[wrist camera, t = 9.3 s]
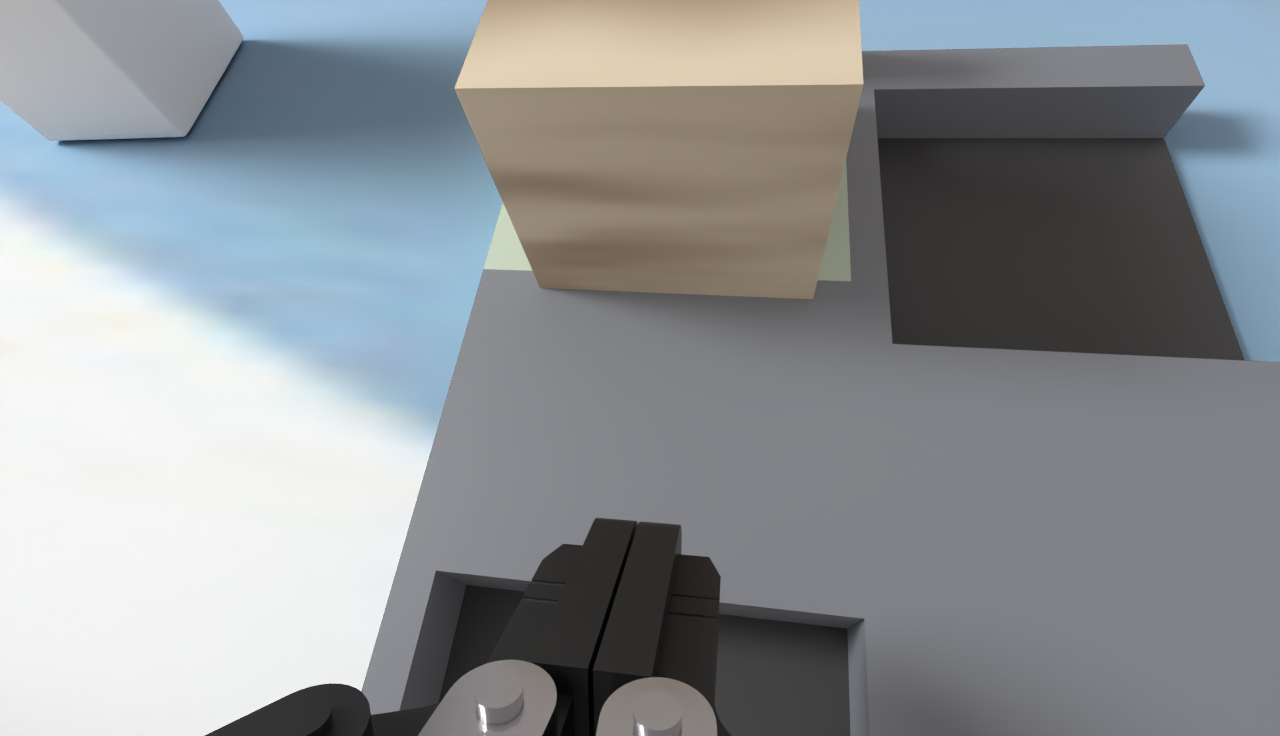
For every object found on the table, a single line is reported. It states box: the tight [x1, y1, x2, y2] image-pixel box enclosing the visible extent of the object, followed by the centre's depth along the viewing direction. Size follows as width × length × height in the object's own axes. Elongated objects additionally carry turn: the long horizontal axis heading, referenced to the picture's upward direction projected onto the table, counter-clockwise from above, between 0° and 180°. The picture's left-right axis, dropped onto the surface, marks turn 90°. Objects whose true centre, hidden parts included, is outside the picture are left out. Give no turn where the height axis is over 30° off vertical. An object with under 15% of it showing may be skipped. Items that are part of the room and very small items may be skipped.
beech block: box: [454, 0, 863, 299], centre depth 17 cm, size 8×8×7 cm
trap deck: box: [361, 45, 1280, 736], centre depth 15 cm, size 28×22×6 cm
